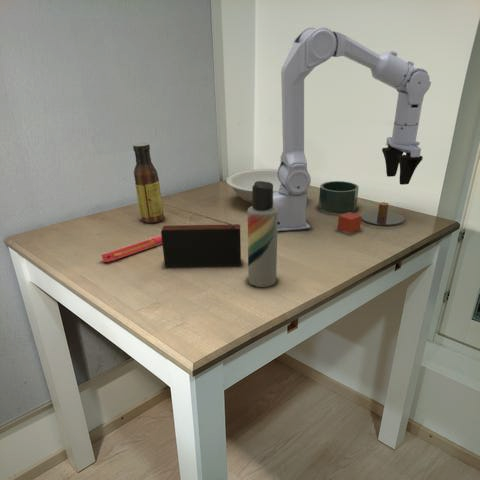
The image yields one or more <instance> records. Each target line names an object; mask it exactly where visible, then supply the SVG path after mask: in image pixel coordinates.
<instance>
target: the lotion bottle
mask: <svg viewBox="0 0 480 480" xmlns="http://www.w3.org/2000/svg"><path fill="white" fill-rule="evenodd" d="M251 204H252V205H251V206H250V207H248V208H247V275H248V282H249V284H250V285H251V286H253V287H257V288H267V287H271V286H273V285H274V284H276V281H277V266H278V264H277V263H278V260H277V259H278V231H277V225H278V210H277V208H276V207H274V206H273V184H272V183H270V182H264V181H257V182H255V183H254V185H253V186H252V203H251Z"/></svg>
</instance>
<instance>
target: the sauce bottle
mask: <svg viewBox="0 0 480 480" xmlns="http://www.w3.org/2000/svg"><path fill="white" fill-rule="evenodd" d="M132 149H133V151H134V155H135V166H134V170H133V177H134V182H135V183H134V185H135V190H136V191H135V192H136V195H137V196H136V197H137V202H138V208H139V214H140V216H141V220H142V221H143V222H144V223H147V224H148V223H149V224H154V223H159V222H162V221H163V220H164V218H165V215H164V211H165V210H164V206H163V204H164V203H163V198H162V192H161V191H162V190H161V184H160V178H159V174H158V171H157V169H156V167H155V165H154V164H153V162H152V158H151V152H150V150H151V147H150V143H148V142H137V143H134V144H133V145H132ZM148 199H151V200H153V201H149V200H148ZM154 201H156V202H154ZM157 202H160V203H163V204H160V203H157Z"/></svg>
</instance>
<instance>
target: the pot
mask: <svg viewBox="0 0 480 480" xmlns="http://www.w3.org/2000/svg"><path fill="white" fill-rule="evenodd" d="M359 189H360V188H359V185H358V184H356V183H354V182H350V181H343V180H331V181H326V182H323V183H321V184H320V186H319V197H318V208H319V209H320V210H321V211H323V212H327V213H332V214H345V213H348V212H350V213H353V212H354V211H356V210H357V205H358V198H359V197H358V196H359Z"/></svg>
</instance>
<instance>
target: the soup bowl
mask: <svg viewBox="0 0 480 480" xmlns="http://www.w3.org/2000/svg"><path fill="white" fill-rule="evenodd" d="M277 171H278V168H259V169H258V168H257V169H248V170H243V171H239V172H236V173H233V174H231V175H229V176H228V177H227V178H226V180H225V182H226V184H227V186H229V187H230V188H232V190H233V191H234V193H235V194H236V195H237V196H238V197H239V198H241V199H242V200H244V201H245V202H248V203H251V204H252V186H253V185H254V183H255V182H257V181H264V182H270V183H272V184H273V193H274V192H277V191H279V187H280V185H281V182H280V181H279V179H278V176H277Z"/></svg>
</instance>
